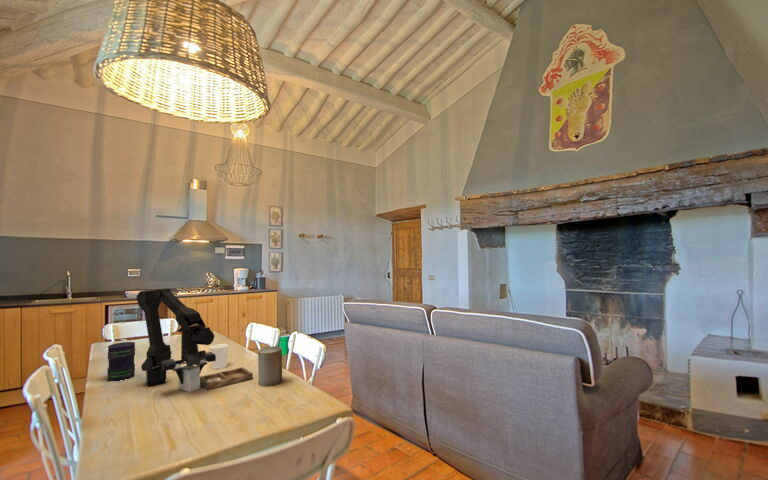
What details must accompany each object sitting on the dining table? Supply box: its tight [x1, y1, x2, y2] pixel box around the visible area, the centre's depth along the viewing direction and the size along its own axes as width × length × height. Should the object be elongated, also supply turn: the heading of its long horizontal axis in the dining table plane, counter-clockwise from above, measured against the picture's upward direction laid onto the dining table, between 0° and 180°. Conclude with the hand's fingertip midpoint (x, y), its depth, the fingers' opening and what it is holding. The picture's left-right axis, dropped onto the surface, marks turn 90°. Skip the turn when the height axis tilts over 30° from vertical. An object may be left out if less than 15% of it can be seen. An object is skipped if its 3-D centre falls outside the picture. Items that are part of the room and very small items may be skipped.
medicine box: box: [178, 364, 201, 393], centre depth 142 cm, size 8×4×9 cm, turn 58°
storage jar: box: [107, 341, 136, 382], centre depth 156 cm, size 10×10×15 cm
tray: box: [200, 367, 254, 391], centre depth 150 cm, size 18×12×2 cm, turn 132°
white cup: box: [209, 343, 229, 370], centre depth 170 cm, size 8×8×10 cm
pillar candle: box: [257, 345, 283, 387], centre depth 148 cm, size 10×10×15 cm
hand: (189, 382), depth 142 cm, fingers closed on medicine box, 5 cm apart
